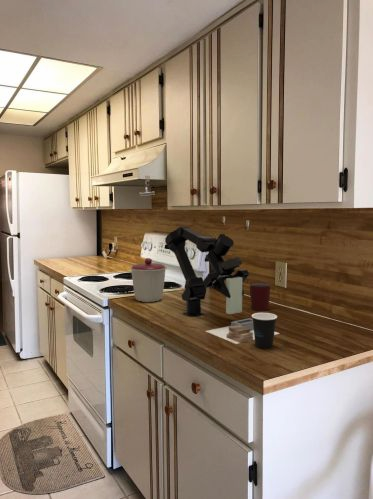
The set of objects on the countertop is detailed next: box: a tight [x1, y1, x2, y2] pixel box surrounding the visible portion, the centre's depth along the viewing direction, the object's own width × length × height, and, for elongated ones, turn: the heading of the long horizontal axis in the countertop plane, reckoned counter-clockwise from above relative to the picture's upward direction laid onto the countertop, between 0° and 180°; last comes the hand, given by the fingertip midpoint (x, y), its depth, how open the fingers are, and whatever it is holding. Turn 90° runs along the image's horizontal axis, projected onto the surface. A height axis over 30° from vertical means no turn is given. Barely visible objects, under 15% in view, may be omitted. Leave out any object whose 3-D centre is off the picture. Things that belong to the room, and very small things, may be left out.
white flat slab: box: [205, 317, 280, 345], centre depth 144 cm, size 17×20×4 cm
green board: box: [225, 277, 243, 315], centre depth 151 cm, size 2×6×13 cm, turn 123°
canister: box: [129, 257, 167, 303], centre depth 201 cm, size 18×18×21 cm
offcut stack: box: [227, 325, 254, 344], centre depth 136 cm, size 7×6×4 cm
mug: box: [249, 282, 271, 312], centre depth 184 cm, size 12×9×11 cm
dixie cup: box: [251, 312, 278, 350], centre depth 129 cm, size 8×8×11 cm
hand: (236, 296), depth 150 cm, fingers closed on green board, 6 cm apart
